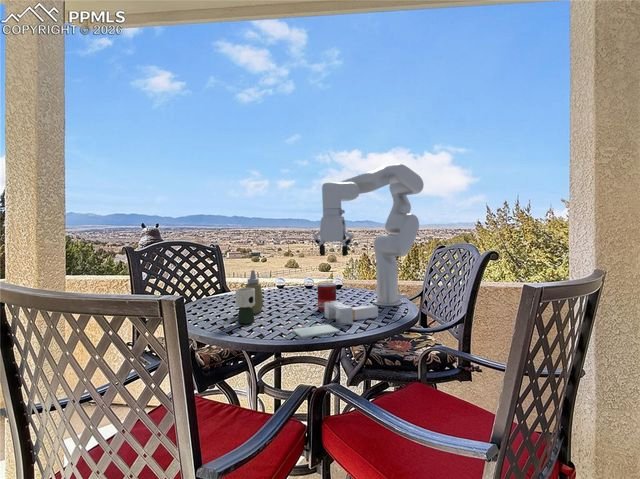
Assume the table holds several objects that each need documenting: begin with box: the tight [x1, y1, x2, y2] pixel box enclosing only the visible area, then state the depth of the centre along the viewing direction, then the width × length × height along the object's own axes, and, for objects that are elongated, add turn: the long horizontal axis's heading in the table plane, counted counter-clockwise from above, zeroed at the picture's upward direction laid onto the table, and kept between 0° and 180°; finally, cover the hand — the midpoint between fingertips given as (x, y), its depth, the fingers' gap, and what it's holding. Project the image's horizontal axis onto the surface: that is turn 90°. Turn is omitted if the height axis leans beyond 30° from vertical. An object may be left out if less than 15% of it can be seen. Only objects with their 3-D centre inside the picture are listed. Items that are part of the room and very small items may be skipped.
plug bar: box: [351, 304, 379, 321], centre depth 152 cm, size 12×4×4 cm, turn 114°
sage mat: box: [291, 324, 341, 339], centre depth 133 cm, size 14×9×1 cm, turn 114°
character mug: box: [235, 287, 255, 325], centre depth 146 cm, size 11×7×13 cm, turn 171°
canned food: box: [317, 282, 337, 312], centre depth 167 cm, size 8×8×11 cm
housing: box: [324, 300, 354, 326], centre depth 147 cm, size 5×14×6 cm, turn 24°
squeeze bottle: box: [244, 269, 264, 315], centre depth 164 cm, size 8×8×18 cm
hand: (333, 255), depth 157 cm, fingers open, 9 cm apart
